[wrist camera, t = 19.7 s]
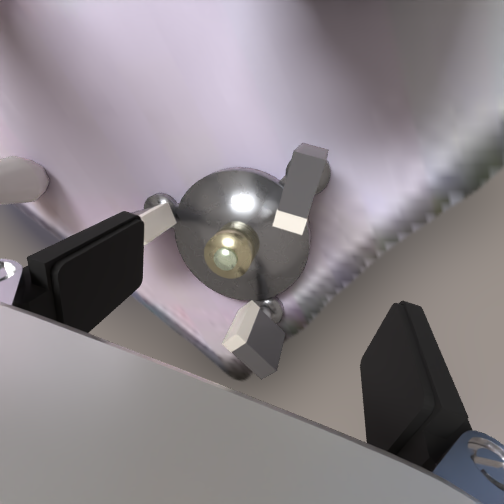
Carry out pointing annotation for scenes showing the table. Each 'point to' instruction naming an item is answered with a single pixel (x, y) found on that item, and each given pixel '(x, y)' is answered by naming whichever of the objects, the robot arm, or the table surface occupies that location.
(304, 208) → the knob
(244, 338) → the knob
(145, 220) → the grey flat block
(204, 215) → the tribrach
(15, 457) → the robot arm
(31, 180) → the salt shaker
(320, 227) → the table surface
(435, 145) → the table surface
